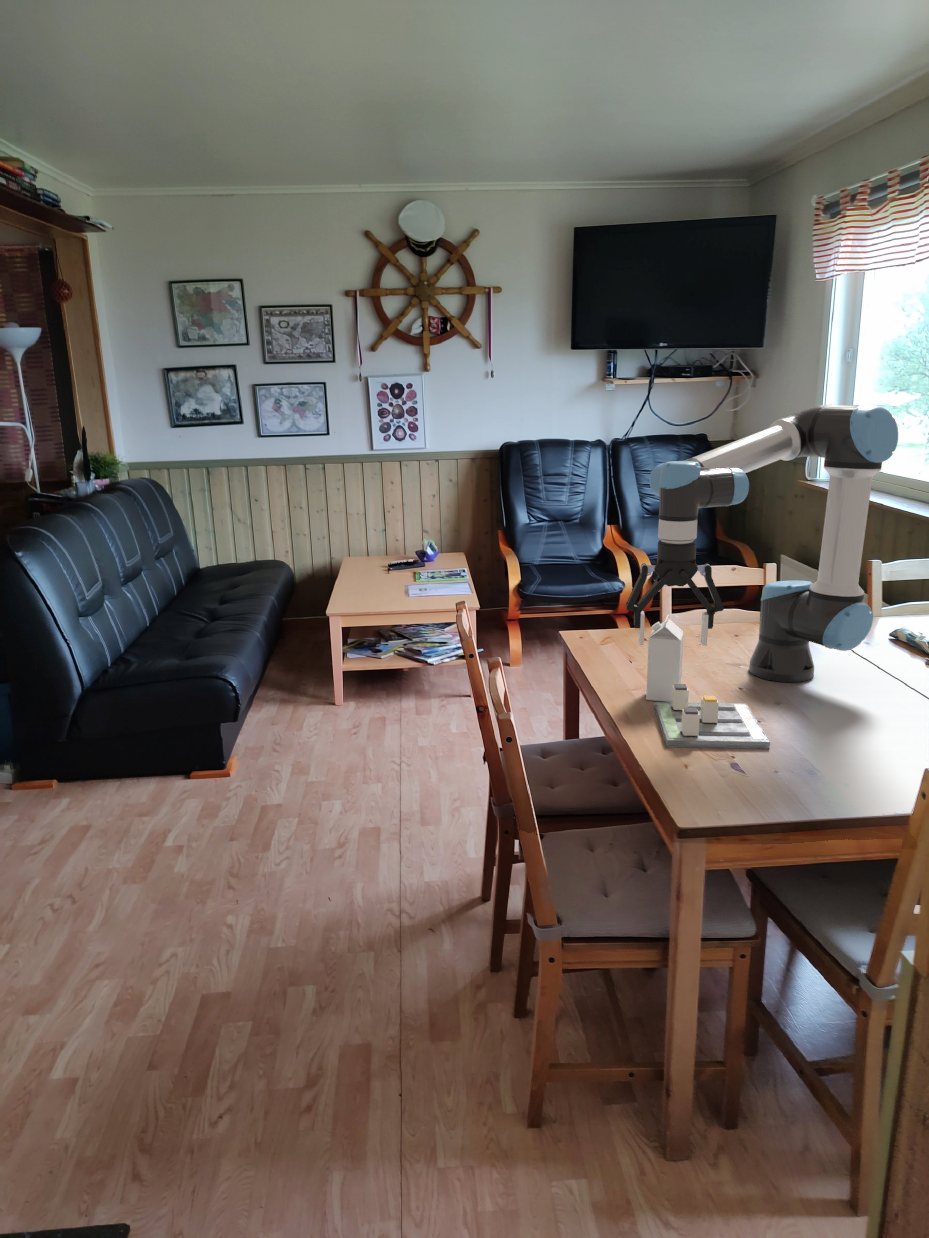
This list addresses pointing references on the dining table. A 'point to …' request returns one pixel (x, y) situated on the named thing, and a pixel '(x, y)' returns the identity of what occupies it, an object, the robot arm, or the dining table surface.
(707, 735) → the panel
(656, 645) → the milk carton
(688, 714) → the block
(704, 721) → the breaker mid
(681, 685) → the block
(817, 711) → the dining table surface
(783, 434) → the robot arm
